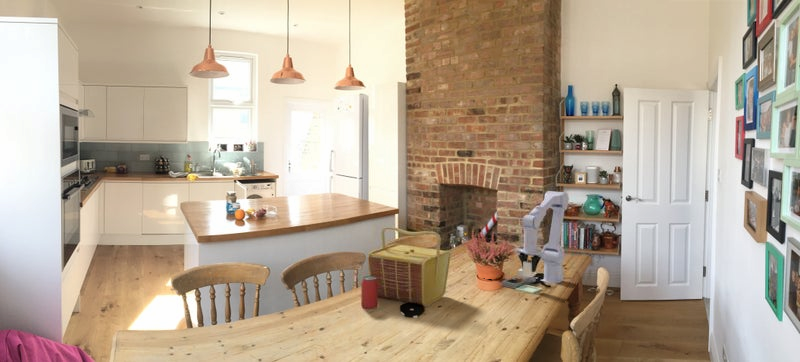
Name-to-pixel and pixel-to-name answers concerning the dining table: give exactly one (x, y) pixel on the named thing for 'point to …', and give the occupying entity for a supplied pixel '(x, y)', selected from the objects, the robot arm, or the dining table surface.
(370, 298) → the beer can
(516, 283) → the small drawer cabinet
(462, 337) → the dining table surface
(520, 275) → the pull-out knob drawer
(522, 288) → the tray
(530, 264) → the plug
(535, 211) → the robot arm
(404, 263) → the picnic basket
